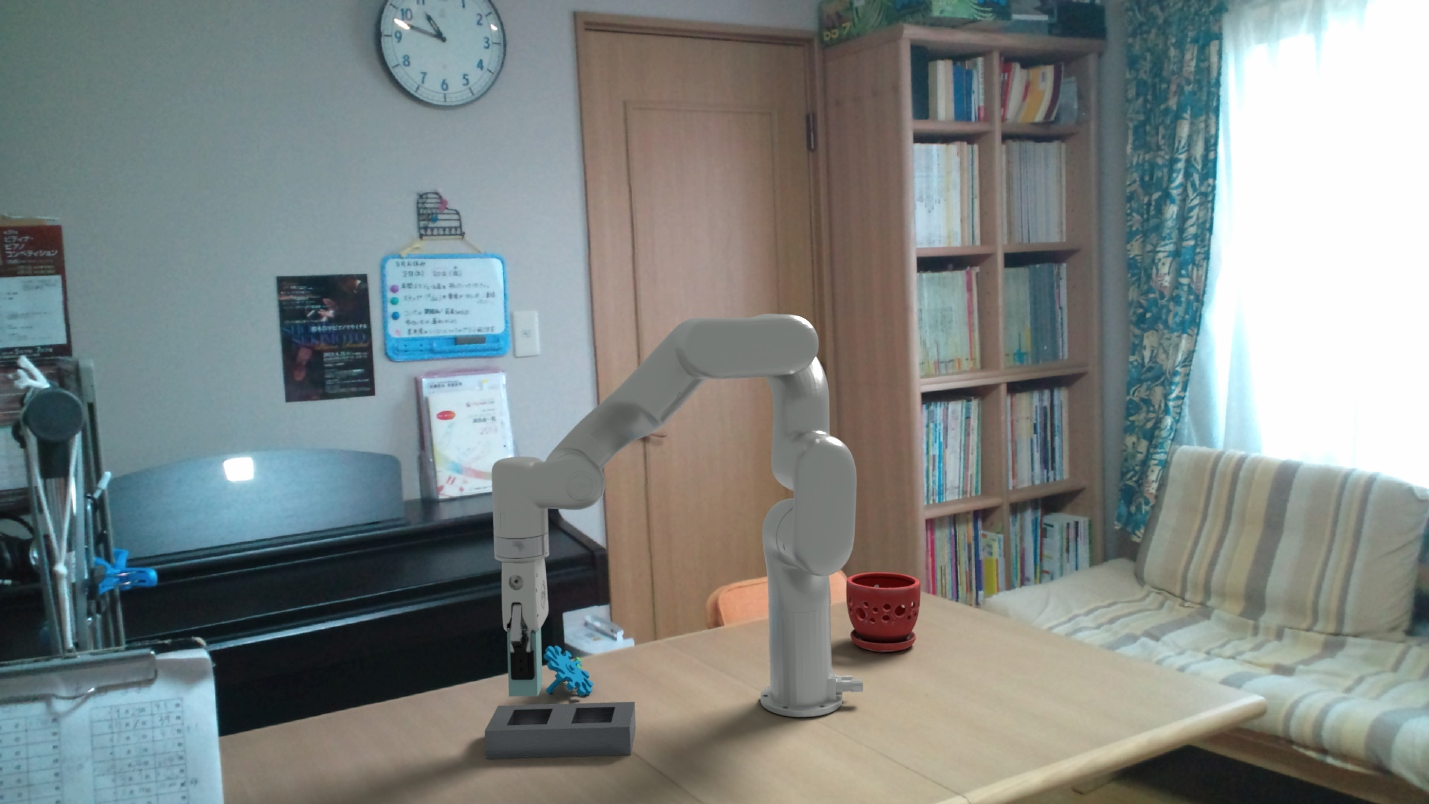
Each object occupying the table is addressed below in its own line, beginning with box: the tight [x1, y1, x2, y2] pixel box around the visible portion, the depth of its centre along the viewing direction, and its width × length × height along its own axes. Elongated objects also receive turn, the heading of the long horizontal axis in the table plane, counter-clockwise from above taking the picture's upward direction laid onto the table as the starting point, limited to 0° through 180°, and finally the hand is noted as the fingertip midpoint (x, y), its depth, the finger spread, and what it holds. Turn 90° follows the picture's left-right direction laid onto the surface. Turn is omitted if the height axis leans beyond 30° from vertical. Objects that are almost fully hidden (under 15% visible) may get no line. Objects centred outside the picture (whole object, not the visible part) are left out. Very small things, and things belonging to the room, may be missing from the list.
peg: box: [506, 625, 543, 697], centre depth 145 cm, size 4×4×9 cm
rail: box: [484, 701, 637, 760], centre depth 146 cm, size 20×9×4 cm, turn 90°
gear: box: [543, 645, 594, 697], centre depth 166 cm, size 11×6×10 cm
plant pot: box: [845, 571, 922, 654], centre depth 184 cm, size 13×13×12 cm
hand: (526, 671), depth 146 cm, fingers closed on peg, 4 cm apart
